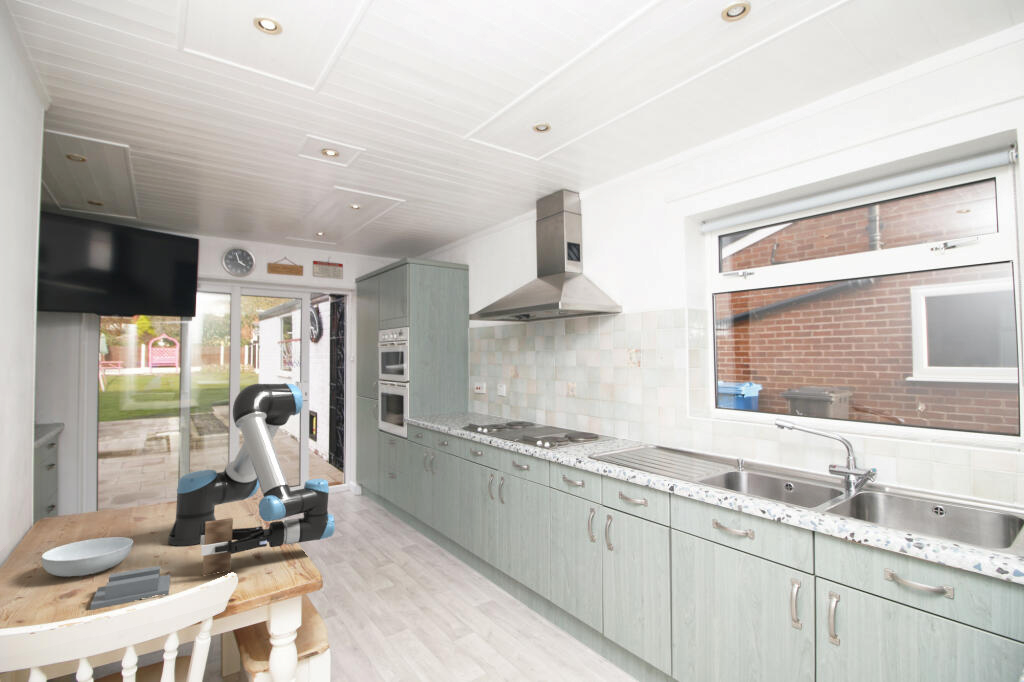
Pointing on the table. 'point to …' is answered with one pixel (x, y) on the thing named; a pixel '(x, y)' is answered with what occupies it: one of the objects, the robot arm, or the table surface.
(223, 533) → the walnut card
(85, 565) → the serving bowl
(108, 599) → the slotted rack
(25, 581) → the table surface
